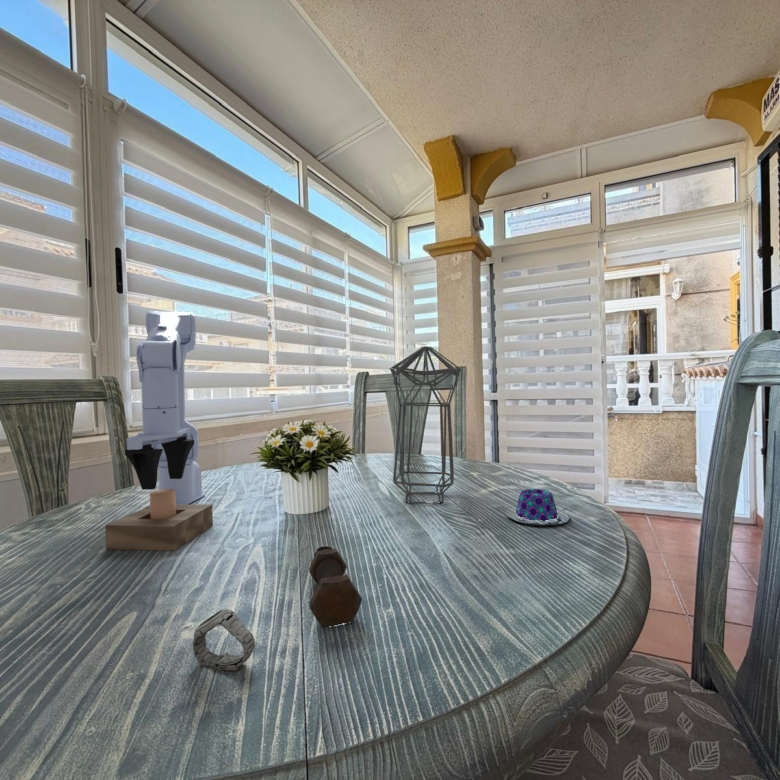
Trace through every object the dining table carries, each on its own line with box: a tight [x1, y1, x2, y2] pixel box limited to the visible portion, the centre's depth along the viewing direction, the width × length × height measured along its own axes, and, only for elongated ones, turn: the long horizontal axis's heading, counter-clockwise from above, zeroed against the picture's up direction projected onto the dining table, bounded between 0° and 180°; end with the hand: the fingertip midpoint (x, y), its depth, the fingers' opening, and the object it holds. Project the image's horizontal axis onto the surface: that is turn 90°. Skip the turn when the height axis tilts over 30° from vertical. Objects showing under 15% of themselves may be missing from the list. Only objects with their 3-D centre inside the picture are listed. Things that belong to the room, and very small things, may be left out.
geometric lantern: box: [388, 345, 462, 504], centre depth 95 cm, size 16×16×35 cm
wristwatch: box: [192, 608, 256, 672], centre depth 40 cm, size 4×6×5 cm, turn 73°
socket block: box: [104, 503, 214, 552], centre depth 74 cm, size 12×12×4 cm
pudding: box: [516, 488, 558, 521], centre depth 80 cm, size 12×12×5 cm
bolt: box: [308, 546, 363, 628], centre depth 53 cm, size 6×5×15 cm
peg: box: [149, 489, 176, 520], centre depth 74 cm, size 4×4×8 cm
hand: (163, 483), depth 74 cm, fingers open, 7 cm apart
